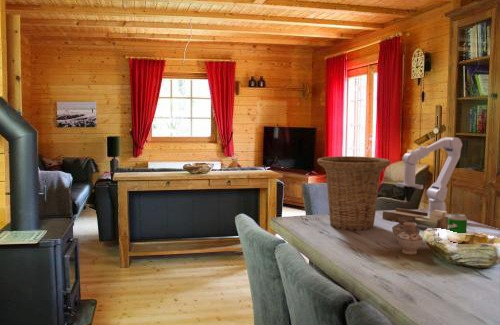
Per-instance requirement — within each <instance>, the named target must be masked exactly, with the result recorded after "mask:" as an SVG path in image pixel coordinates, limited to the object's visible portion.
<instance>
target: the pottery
mask: <svg viewBox="0 0 500 325" xmlns="http://www.w3.org/2000/svg"><path fill="white" fill-rule="evenodd" d="M416 226H417V224H416V223H413V219H412V218H407V217H402V218H399V222H398V224H395V225H394V226H392V228H391V230H392V234H393V235H394V237H395V239H396V240H397V243H398V245H399V246H400V248H401V249H402V250H401V252H402V253H403V254H405V255H416V254H417V253H418V251H417V250H418V249H419V248H420V247H421V246H422V243H423V239H424V238H423V236H422V235H420V231H421V229H419V228H417V227H416Z"/></svg>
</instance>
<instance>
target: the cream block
mask: <svg viewBox="0 0 500 325" xmlns="http://www.w3.org/2000/svg"><path fill="white" fill-rule="evenodd" d="M445 217H448V211H447V210H446V211H439V210H434V211H430V221H436V222H437V220H439V219H442V218H445Z"/></svg>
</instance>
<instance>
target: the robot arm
mask: <svg viewBox="0 0 500 325" xmlns="http://www.w3.org/2000/svg"><path fill="white" fill-rule="evenodd" d="M462 147H463V143H462V140H461V139H460V138H459V137H449V136H444V137H442V138H440V139H438V140H436V141H435V142H433V143H431V144H429V145H428V146H420V145H419V146H418V148H416V149H415V150H410V152H406V153H404V155H403V156H402V157H401V159H402V163H403V166H404V167H403V182H400V181H399V182H395V186H396V187H403V188H402V191H403V192H404V195H405V199H406V202H412V197H413V195H414V192H415V191H416V189H419V190H423V189H424V184H418V183H416V168H417V167H416V164H417V163H419V161H420V160H422V159H423V160H424V159H426V158H427V157H428V156H429V154H430V153H432V152H435V151H437V150H440V149H444V151H445V152H446V154H447V158H446V160H445V162H444V165H443V166H442V169H441V171H440V173H439V175H438V177H437V179H436V181H435V182H433V183H432V184H431V185H430V187H429V188H428V189H427V190H426V196H427V198H428V216H430V211H434V210H439V211H446V212H447V210H446V209H447V204H446V202H445V200H446V199H447V192H448V191H449V190H448V187H447V185H448V183H449V181H450V179H451V176H452V174H453V172H454V170H455V168H456V166H457V164H458V162H459V160H460V158H461V150H462Z"/></svg>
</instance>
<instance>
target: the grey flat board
mask: <svg viewBox="0 0 500 325" xmlns="http://www.w3.org/2000/svg"><path fill="white" fill-rule="evenodd" d="M413 223H416V224H417V222H413ZM416 227H417V228H419V230H420V231H421V230H422V231H425V230H424V229H427V228H437V226H434V227H431V226H426V225H420V224H417V226H416Z"/></svg>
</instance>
